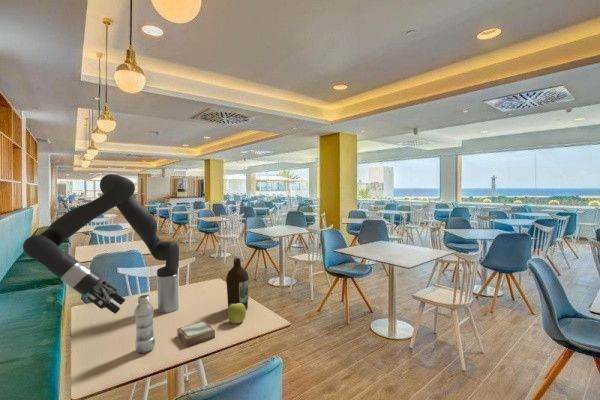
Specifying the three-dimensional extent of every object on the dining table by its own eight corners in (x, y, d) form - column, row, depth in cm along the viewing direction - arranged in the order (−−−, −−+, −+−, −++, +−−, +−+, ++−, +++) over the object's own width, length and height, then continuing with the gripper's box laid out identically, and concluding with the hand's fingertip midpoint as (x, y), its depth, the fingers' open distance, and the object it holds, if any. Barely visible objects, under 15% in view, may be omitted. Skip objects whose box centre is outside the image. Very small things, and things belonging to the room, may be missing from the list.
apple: (244, 324, 131) (237, 301, 131) (228, 328, 133) (221, 305, 133) (251, 316, 139) (244, 295, 139) (235, 320, 141) (229, 299, 141)
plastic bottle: (159, 347, 115) (158, 294, 114) (145, 356, 109) (143, 301, 108) (146, 344, 117) (144, 292, 116) (131, 353, 111) (129, 298, 110)
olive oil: (222, 310, 148) (221, 259, 147) (236, 303, 157) (235, 254, 156) (239, 315, 143) (238, 261, 142) (253, 307, 152) (252, 257, 151)
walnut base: (177, 336, 123) (177, 328, 123) (204, 327, 130) (203, 320, 130) (187, 347, 115) (186, 338, 115) (215, 337, 122) (214, 329, 122)
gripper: (83, 275, 99) (124, 305, 104) (96, 264, 113) (132, 291, 117) (64, 293, 98) (107, 323, 102) (79, 280, 111) (117, 307, 116)
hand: (120, 306), depth 110 cm, fingers open, 8 cm apart
